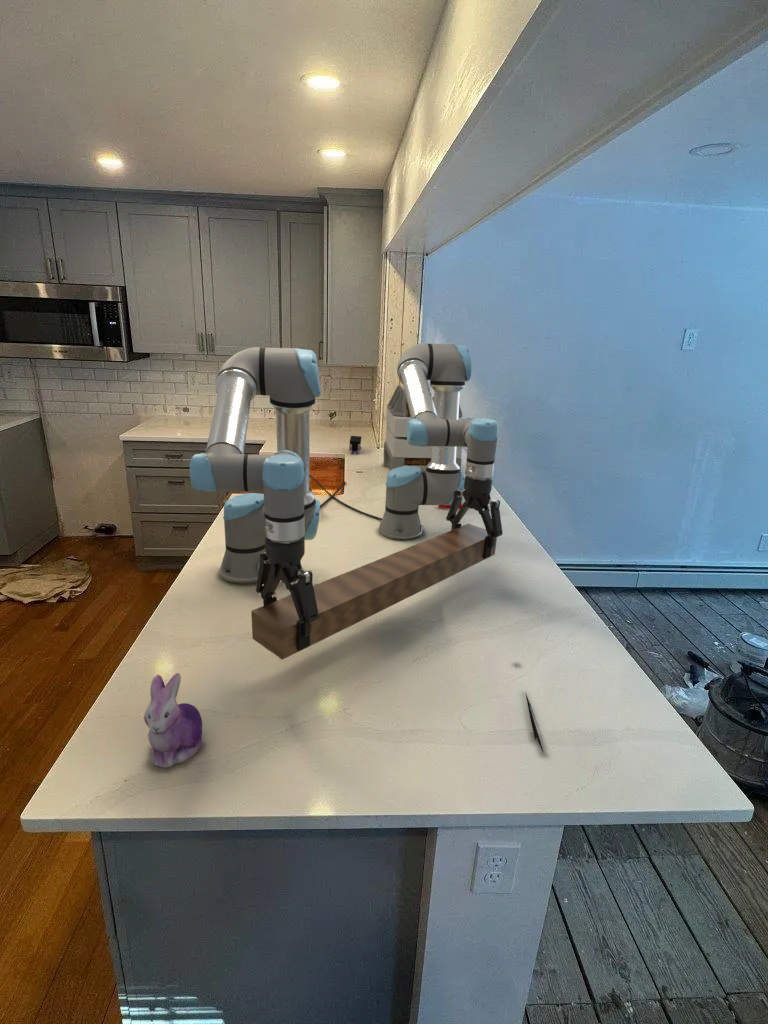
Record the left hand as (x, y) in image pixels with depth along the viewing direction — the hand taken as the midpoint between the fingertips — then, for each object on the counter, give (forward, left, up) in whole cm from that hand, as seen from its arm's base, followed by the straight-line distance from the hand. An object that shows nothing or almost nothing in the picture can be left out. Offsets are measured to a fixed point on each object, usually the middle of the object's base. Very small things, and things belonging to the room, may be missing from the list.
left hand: (286, 636), depth 116 cm
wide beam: (-22, +24, -1) cm, 33 cm away
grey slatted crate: (-161, +51, -11) cm, 169 cm away
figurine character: (-201, +21, -11) cm, 202 cm away
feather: (+10, +49, -11) cm, 51 cm away
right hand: (-44, +48, 0) cm, 65 cm away
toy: (-123, +57, -11) cm, 136 cm away
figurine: (+20, -18, -11) cm, 28 cm away
